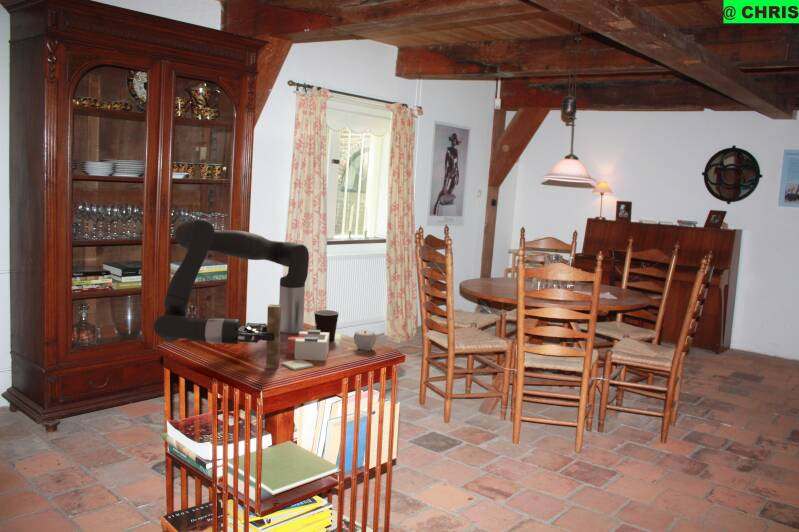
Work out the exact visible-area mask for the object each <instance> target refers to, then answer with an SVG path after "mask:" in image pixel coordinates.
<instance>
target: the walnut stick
mask: <svg viewBox="0 0 799 532" xmlns="http://www.w3.org/2000/svg"><path fill="white" fill-rule="evenodd" d="M266 321H267V322H266V325H267V333H274V334H275V340H274V341H266V351H265V352H266V353H265V355H266V356H265V369H274V368H276V369H279V367H280V355H281V353H280V351H281V350H280V349H281V332H280V325H281V305H279V304H269V305H268V306H267V320H266Z"/></svg>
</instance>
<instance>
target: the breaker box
mask: <svg viewBox="0 0 799 532" xmlns="http://www.w3.org/2000/svg"><path fill="white" fill-rule="evenodd" d="M298 337H305V339H297V338H296V340H295V350H294V360H299V359H301V360H303V361H306V360H307V361H309V360H310V361H327V357H328V353H329V348H330V347H329V346H330V342H329V333H327V332H321V330H316V329H308V330H307V331H306V330H305V331H304V330H303V331H300V332H299V333H298Z"/></svg>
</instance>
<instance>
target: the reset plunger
mask: <svg viewBox="0 0 799 532" xmlns="http://www.w3.org/2000/svg"><path fill="white" fill-rule="evenodd" d="M296 338H297V339H305V337H299V336H288V338H287V344H286V346H287V347H286V348H287V349H286V350H287V351H295V340H296Z"/></svg>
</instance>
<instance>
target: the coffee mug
mask: <svg viewBox="0 0 799 532" xmlns="http://www.w3.org/2000/svg"><path fill="white" fill-rule="evenodd" d="M338 319H339V312H338V311H335V310H331V309H318V310H315V311H314V323H315V324H314V325H315V330H321V332H327V333H329V343H331V342H334V341H335V338H336V331H337V326H338Z"/></svg>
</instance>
